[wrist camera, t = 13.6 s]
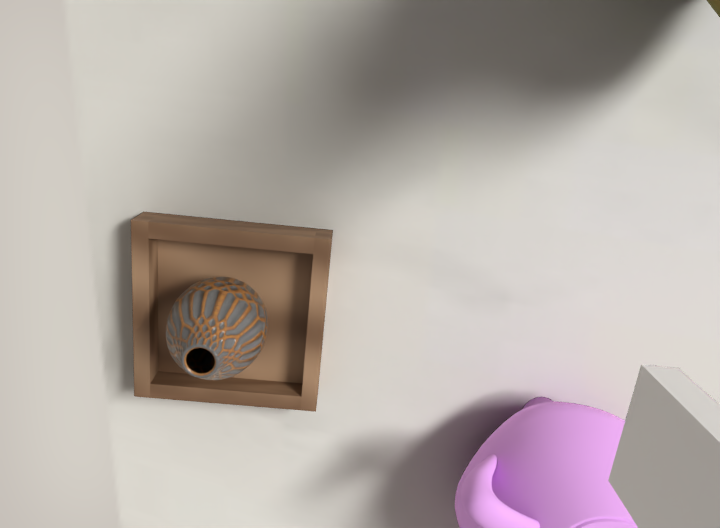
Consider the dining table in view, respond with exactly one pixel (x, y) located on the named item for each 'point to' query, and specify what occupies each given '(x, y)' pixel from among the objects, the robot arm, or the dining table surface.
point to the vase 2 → (715, 5)
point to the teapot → (545, 471)
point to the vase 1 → (216, 328)
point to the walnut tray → (258, 270)
